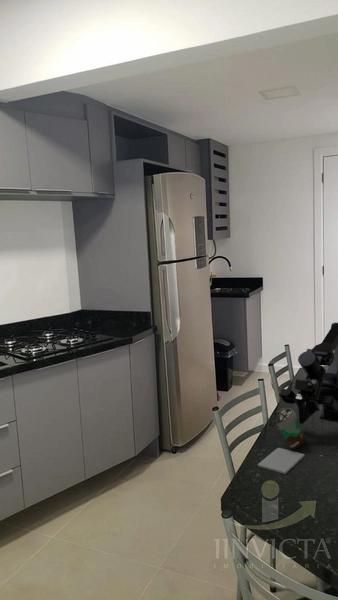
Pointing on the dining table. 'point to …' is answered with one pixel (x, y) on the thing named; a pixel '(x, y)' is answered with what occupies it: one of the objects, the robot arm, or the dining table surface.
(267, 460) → the grey mat
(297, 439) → the food container
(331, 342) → the robot arm
